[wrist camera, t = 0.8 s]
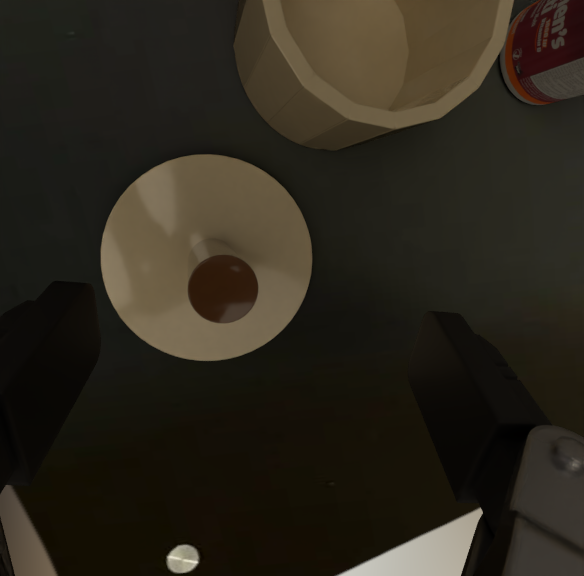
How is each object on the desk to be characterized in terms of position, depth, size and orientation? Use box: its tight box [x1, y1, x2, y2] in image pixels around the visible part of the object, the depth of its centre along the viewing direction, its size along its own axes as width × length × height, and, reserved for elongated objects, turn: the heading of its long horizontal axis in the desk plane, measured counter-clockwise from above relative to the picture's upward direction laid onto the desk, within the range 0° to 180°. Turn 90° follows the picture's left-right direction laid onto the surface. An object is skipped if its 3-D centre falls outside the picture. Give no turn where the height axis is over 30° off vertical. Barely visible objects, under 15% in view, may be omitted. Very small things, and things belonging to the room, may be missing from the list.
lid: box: [101, 154, 312, 361], centre depth 21 cm, size 12×12×9 cm
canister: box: [233, 0, 514, 151], centre depth 21 cm, size 11×11×8 cm
